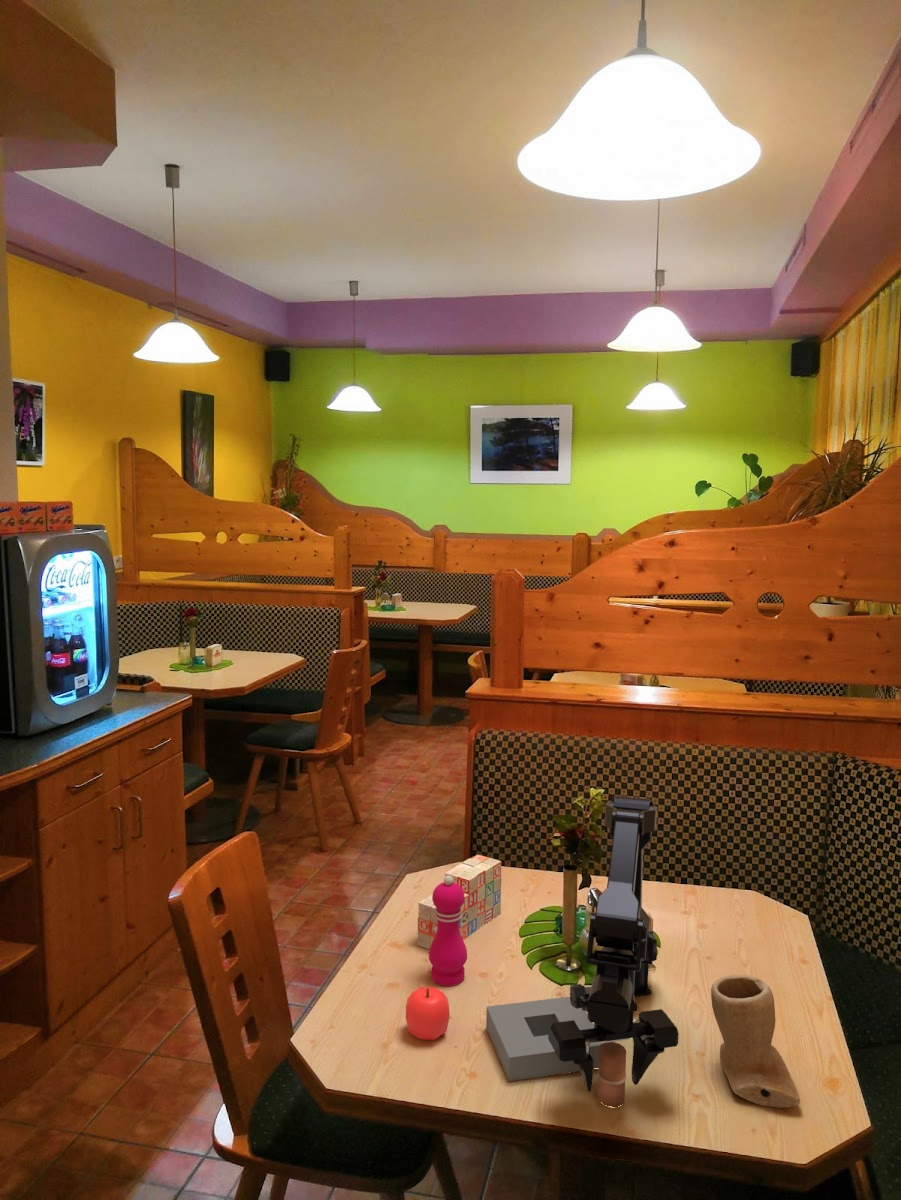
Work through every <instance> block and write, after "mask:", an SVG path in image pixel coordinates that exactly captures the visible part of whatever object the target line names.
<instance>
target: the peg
mask: <svg viewBox="0 0 901 1200" xmlns="http://www.w3.org/2000/svg"><path fill="white" fill-rule="evenodd" d="M626 1066H627V1049H626V1048H625V1045H622V1044H621V1043H619V1042H617V1041H615V1042H608V1043H603V1044H601V1045H600V1047H599V1069H597V1082H598V1083H597V1100H598V1099H599V1101H600V1102H602V1103H603V1104H604V1105H607V1106H612V1107H618V1106H620V1105H622V1104H623V1103H624V1104H625V1102H624V1101H625V1098H626V1095H625V1094H626V1080H627V1072H626V1070H627V1069H626ZM599 1101H598V1102H599ZM600 1102H599V1103H600ZM624 1104H623V1105H624ZM604 1105H603V1106H604ZM623 1105H622V1106H623ZM618 1108H619V1107H618Z"/></svg>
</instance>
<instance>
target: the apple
mask: <svg viewBox="0 0 901 1200" xmlns="http://www.w3.org/2000/svg"><path fill="white" fill-rule="evenodd" d="M406 999H407V1000H406V1003H405V1022H406V1026H407V1030H408V1033H409V1034H411V1035H412V1036H414V1037H415V1038H417V1039H420V1040H423V1041H434V1040H436V1039H437V1038H439V1037H440V1036H442V1035H443V1034H445V1033H447V1031H448V1025H449V1021H450V1017H451V1016H450V1004H449V999H448V997H447V995H446V994H445V993H444V992H443V991H442V990H440V989H438V988H436V987H435V986H429V987H428V986H424V987H423V986H422V987H419V988H417V989H416V990H414V991H412V992H411V993H410V995H409V996H408V997H407V998H406Z"/></svg>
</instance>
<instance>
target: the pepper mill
mask: <svg viewBox="0 0 901 1200" xmlns="http://www.w3.org/2000/svg"><path fill="white" fill-rule="evenodd" d="M432 894H433V895H432ZM432 894H431V895H432V900H433V903H434V905H435V907H436V908H435V917H436V918H437V922H438V927H437V933H436V935H435V938H434V940H433V942H432V944H431V946H430V949H428V960H429V963H430V964H431V965H432V966H431V968H430V969H431V970H430V976H431V980H432V981H433V983H435V984H437V985H440V986H445V987H454V986H457V985H460V984H461V983H462V982H463V981H464V979H465V971H466V970H465V966H464V965H465V964H466V962H467V960H468V950H467V946H466V943H465V941H464V940H463V939H462V936H461V934H460V930H459V919H460V918H461V917H462V914H461V912H462V909H461V906H462V905H463V903H464V899H465V896H464V891H463V889H462V888H461V887H460V886H459V885H458V884H456V883H453V878H452V877H451V876H446V877H445V876H444V879H443V882H441V883H439V884H438V885H437V886H435V888H434V889H433V893H432Z"/></svg>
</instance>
